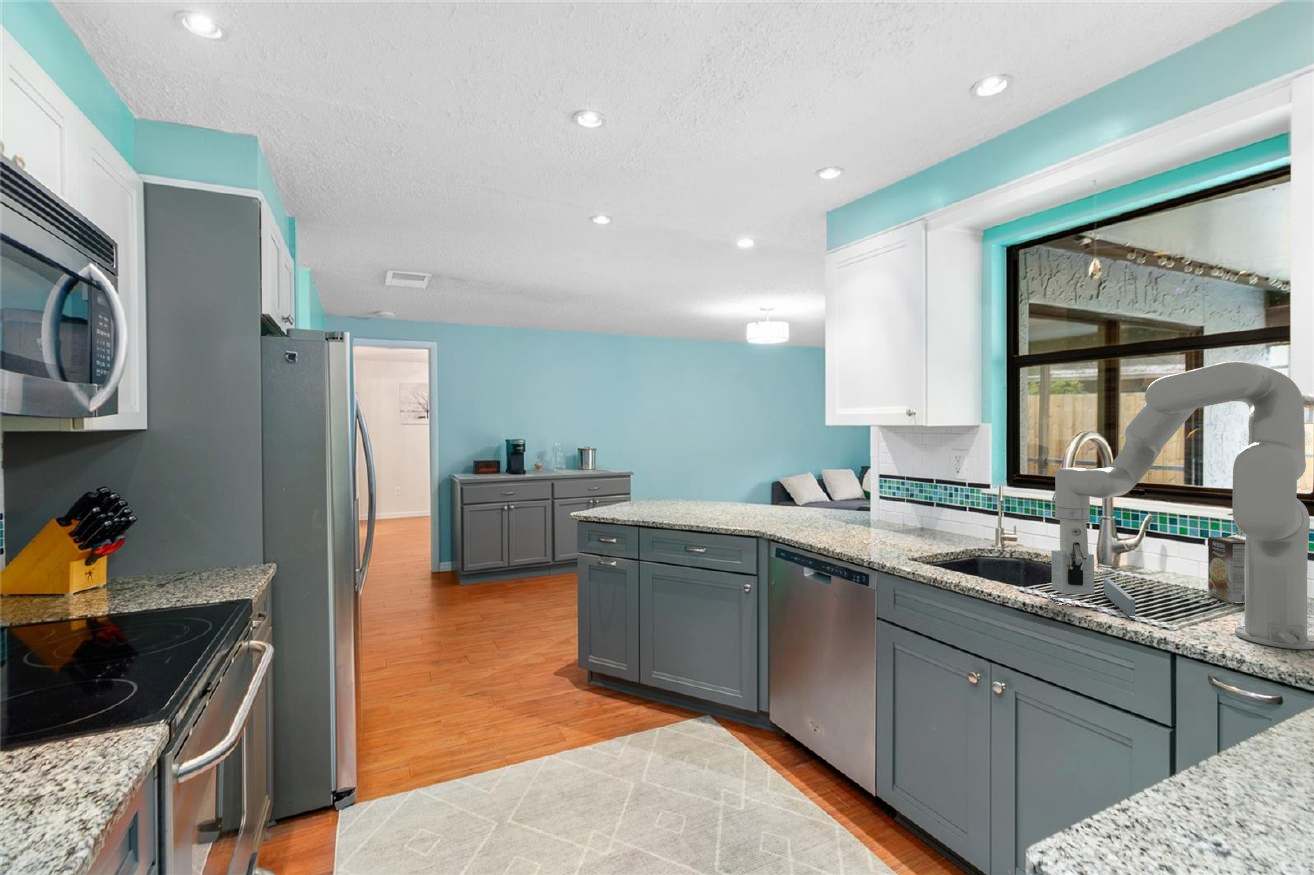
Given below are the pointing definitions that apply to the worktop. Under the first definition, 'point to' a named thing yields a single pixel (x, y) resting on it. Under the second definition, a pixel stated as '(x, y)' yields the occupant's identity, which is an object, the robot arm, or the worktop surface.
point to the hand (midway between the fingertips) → (1072, 581)
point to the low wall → (1119, 597)
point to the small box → (1061, 574)
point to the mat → (1067, 597)
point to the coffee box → (1226, 568)
